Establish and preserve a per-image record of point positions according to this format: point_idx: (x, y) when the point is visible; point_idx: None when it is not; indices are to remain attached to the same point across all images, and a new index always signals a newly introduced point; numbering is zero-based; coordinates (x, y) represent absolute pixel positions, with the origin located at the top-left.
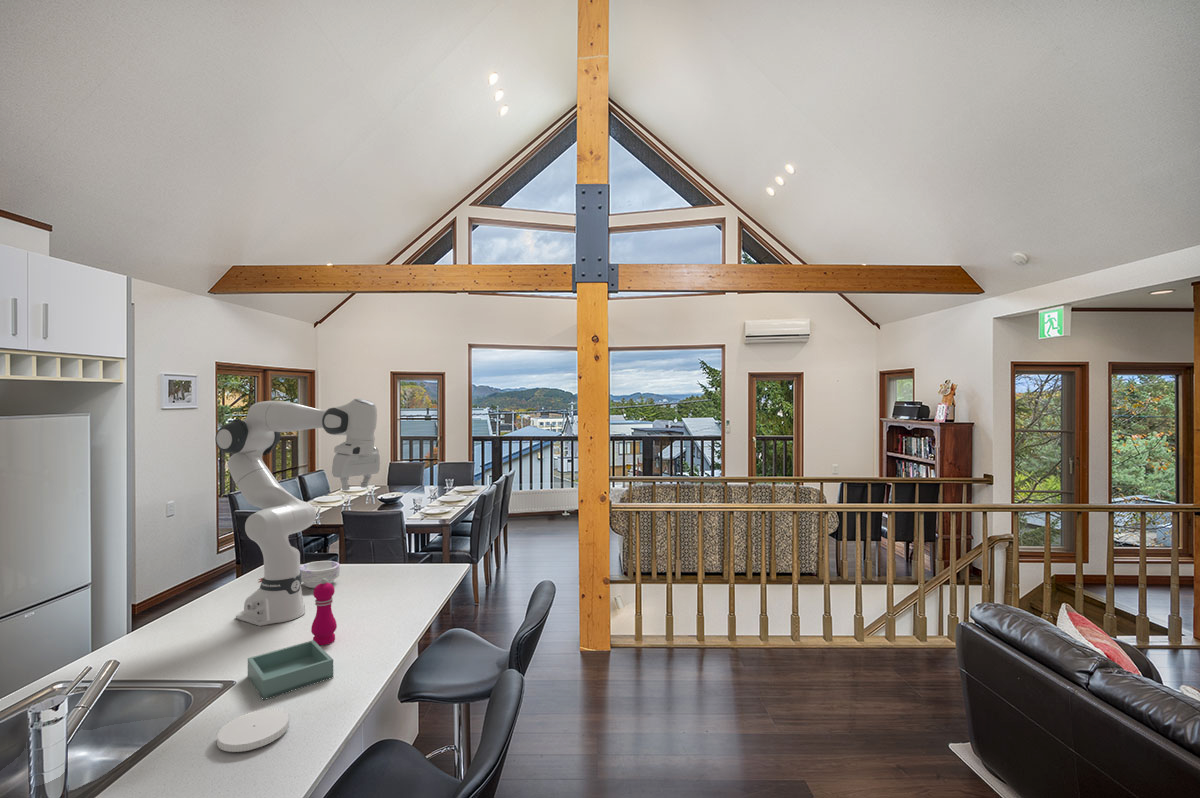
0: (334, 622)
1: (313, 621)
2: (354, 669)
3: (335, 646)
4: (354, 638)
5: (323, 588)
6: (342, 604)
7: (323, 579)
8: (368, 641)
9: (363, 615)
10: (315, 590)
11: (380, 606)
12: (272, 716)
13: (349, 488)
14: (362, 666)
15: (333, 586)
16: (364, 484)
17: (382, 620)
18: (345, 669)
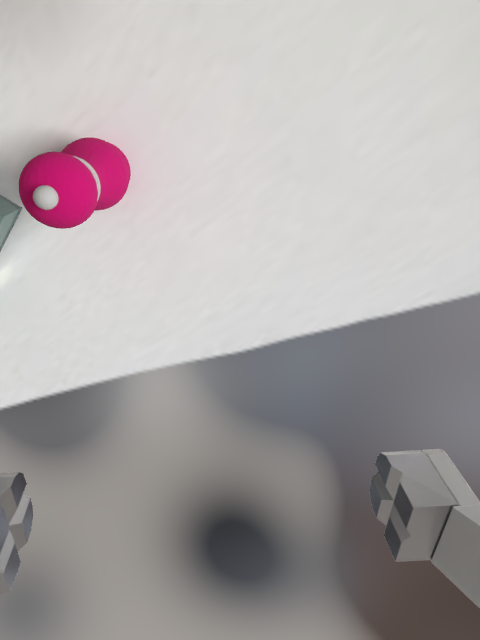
0: (100, 208)
1: (64, 152)
2: (14, 337)
3: (90, 220)
4: (146, 237)
5: (30, 211)
6: (375, 13)
7: (36, 201)
8: (141, 282)
9: (293, 159)
10: (19, 179)
11: (369, 166)
12: None
13: (26, 541)
14: (31, 344)
15: (78, 221)
16: (388, 527)
17: (268, 238)
18: (5, 320)
